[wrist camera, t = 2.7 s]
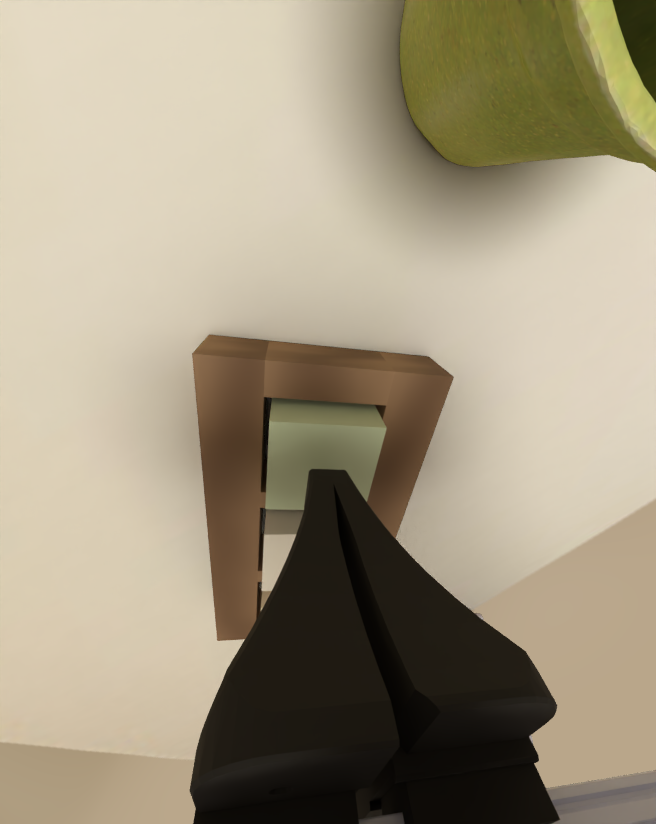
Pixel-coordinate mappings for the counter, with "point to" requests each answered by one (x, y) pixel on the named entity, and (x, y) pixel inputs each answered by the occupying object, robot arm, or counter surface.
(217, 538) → the keypad board
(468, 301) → the counter surface
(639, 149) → the plant pot
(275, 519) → the ivory key
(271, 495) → the sage key
